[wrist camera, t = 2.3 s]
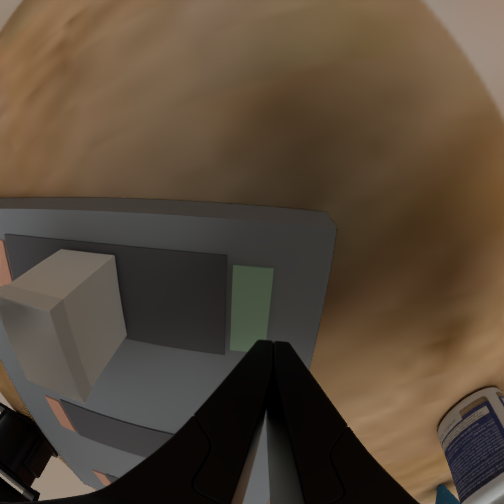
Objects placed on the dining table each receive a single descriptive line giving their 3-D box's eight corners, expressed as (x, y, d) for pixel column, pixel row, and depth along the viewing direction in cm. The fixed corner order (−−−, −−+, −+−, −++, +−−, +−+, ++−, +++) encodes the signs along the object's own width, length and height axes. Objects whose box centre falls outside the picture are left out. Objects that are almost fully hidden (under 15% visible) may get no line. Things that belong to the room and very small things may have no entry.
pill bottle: (425, 442, 15) (454, 553, 6) (452, 394, 13) (505, 524, 4) (481, 425, 15) (518, 519, 6) (510, 376, 13) (568, 479, 4)
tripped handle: (76, 324, 10) (27, 380, 7) (59, 247, 9) (-8, 293, 6) (128, 336, 10) (84, 403, 7) (115, 254, 9) (49, 311, 6)
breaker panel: (90, 470, 21) (83, 484, 20) (-21, 199, 11) (-47, 209, 9) (260, 509, 20) (259, 527, 19) (326, 212, 10) (338, 230, 8)
